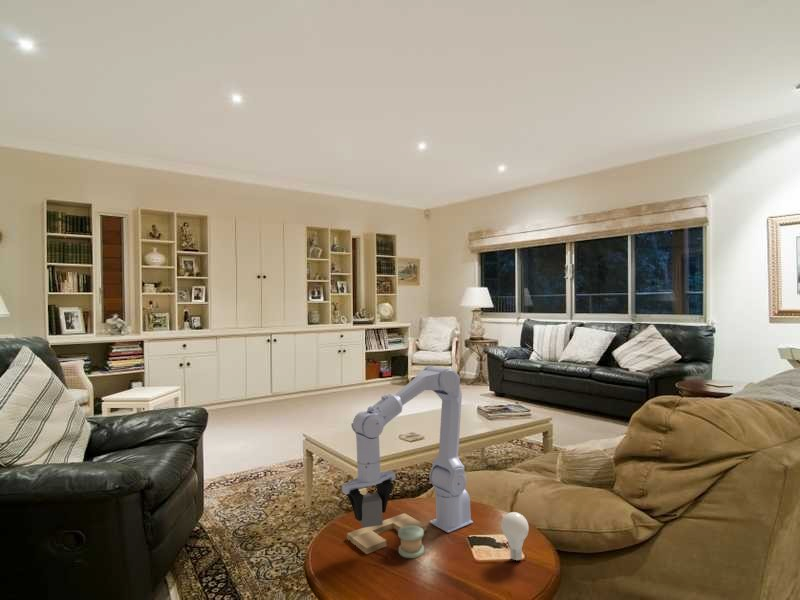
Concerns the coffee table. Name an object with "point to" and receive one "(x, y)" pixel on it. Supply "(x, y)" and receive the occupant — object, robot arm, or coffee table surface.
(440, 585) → the coffee table surface
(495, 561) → the coffee table surface
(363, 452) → the robot arm
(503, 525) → the lightbulb
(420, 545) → the bobbin
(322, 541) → the coffee table surface
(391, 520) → the notched board
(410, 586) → the coffee table surface
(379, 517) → the block
